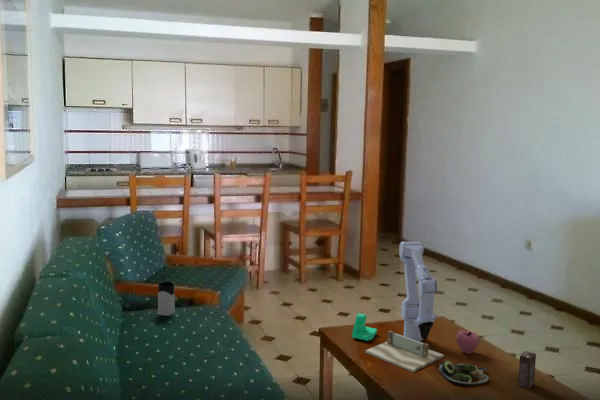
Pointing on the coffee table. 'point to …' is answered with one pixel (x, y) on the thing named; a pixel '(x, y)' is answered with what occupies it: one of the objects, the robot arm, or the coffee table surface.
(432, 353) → the door frame board
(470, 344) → the apple
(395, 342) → the door
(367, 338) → the camera mount
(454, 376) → the salad plate
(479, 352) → the coffee table surface
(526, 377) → the box
